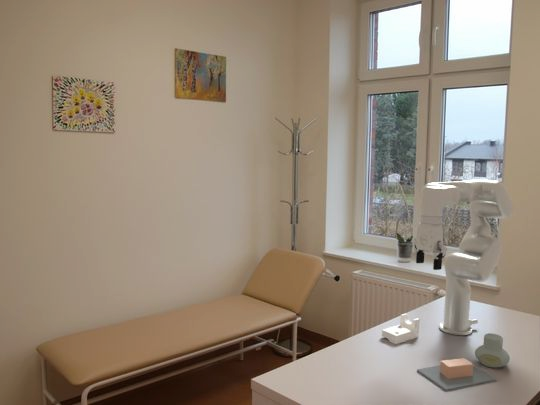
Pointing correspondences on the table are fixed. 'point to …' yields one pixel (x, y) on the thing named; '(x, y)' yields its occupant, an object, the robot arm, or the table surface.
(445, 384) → the mat
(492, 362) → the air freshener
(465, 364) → the card box
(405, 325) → the bracket
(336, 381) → the table surface
